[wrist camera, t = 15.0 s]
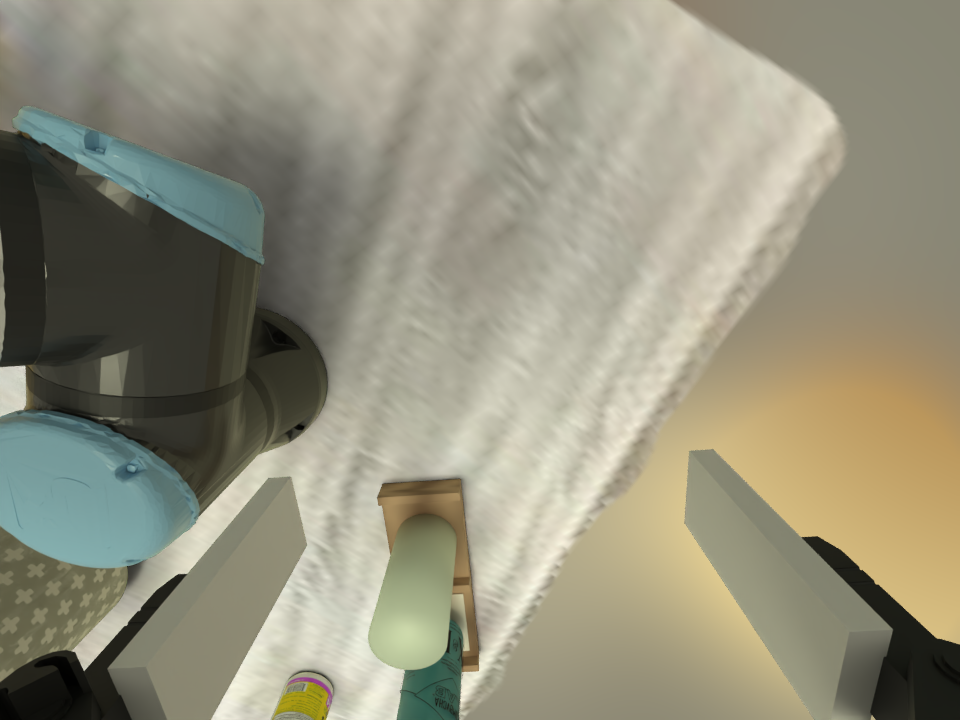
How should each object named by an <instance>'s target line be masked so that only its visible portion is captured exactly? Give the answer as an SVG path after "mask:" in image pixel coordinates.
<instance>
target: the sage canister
mask: <svg viewBox="0 0 960 720" xmlns="http://www.w3.org/2000/svg"><path fill="white" fill-rule="evenodd" d="M456 545H457V536H456V533H455V530H454V528H453V527H452V526H451V524H450V523H449V522H448V521H446V520H445V519H443V518H441V517H439V516H437V515H433V514H418V515H414V516H412V517H410V518H408V519H406V520H405V521H404V522H403V523H402V524H401V525H400V527H399V529H398V531H397V535H396V538H395V542H394V545H393V549H392V552H391V556H390V559H389V563H388V566H387V570H386V573H385V577H384V580H383V584H382V587H381V591H380V594H379V598H378V602H377V605H376V609H375V612H374V616H373V619H372V623H371V626H370V630H369V634H368V641H369V645H370V648H371V650H372V651H373V653H374V654H375V655H376V657H377V658H379V659H380V660H381V661H382V662H384V663H386V664H387V665H390V666H392V667H395V668H398V669H404V670H417V669H422V668H426V667H428V666H431V665H432V664H434V663H436V662H437V661H438V660H439V659H440V658H441V657H442V656H443V655H444V653H445V651H446V648H447V643H448V633H449V622H450V611H451V600H452V589H453V578H454V567H455V556H456Z"/></svg>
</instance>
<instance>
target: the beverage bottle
mask: <svg viewBox="0 0 960 720" xmlns="http://www.w3.org/2000/svg"><path fill="white" fill-rule="evenodd" d="M464 645H465V644H463V634H462V631H461V628H460V627H459V626H458V624H457V623H455V622H454V621H453V620H451V619H450V622H449V633H448V643H447V648H446V651H445V653H444V655H443V656H442V657H441V658H440V659H439V660H438V661H437V662H436V663H434V664H432V665H431V666H428V667H426V668H422V669H417V670H404V671H405V675H404V679H403V685H402V690H400V691H401V692H400V693H401V698H400V704H399V709H398V715H397V720H459V711H460V708H459V705H461V703H460V699H461V698H460V696H461V695H460V692H461V691H460V689H461V686H462V685H461V672H462V669H463V665H462V656H463V655H464V654H463V652H464V651H463V649H464V648H463V647H464ZM463 660H464V659H463ZM463 663H464V661H463ZM462 676H463V675H462ZM401 684H402V683H401ZM400 689H401V688H400ZM460 714H461V713H460Z"/></svg>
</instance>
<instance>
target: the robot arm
mask: <svg viewBox="0 0 960 720" xmlns="http://www.w3.org/2000/svg"><path fill="white" fill-rule="evenodd" d="M12 126H13V128H15V129H17V130H18V131H17V133H12V132H7V131H3V130H0V367H8V366H24V365H26V406H25V408H24V410H19V411H15V412H12V413H9V414H7V415H4V416H1V417H0V526H1V527H2V528H3V529H4V530H6V531H7V532H9V533H10V534H12V535H13V536H15V537H16V538H17V539H18V540H19V541H21V542H22V543H24V544H25V545H27V546H28V547H30V548H32V549H34V550H36V551H38V552H40V553H42V554H44V555H46V556H49V557H51V558H54V559H57V560H60V561H63V562H66V563H70V564H74V565H79V566H84V567H91V568H119V567H125V566H130V565H134V564H137V563H140V562H141V561H143V560H147V559H148V558H151V557H153V556H155V555H156V554H158V553H159V552H161V551H162V550H163V549H165V548H166V547H167V546H168V545H169V544H171V543H172V542H173V541H174V540H176V539H177V538H178V537H179V536H180V535H182V534H183V533H184V532H186V531H188V530H189V529H190V528H191V527H192V526H193V525H194V524H195V523H196V520H198V517H199V516H200V515H201V514H202V513H203V512H204V511H205V510H206V509H207V507H208V506H209V505H210V504H211V503H212V502H213V501H214V500H215V499H216V498H217V497H218V496H219V495H220V494H221V493H222V492H223V491H224V490H225V489H226V488H227V487H228V486H229V485H230V484H231V483H232V481H233V480H234V479H235V478H236V477H237V476H238V475H239V474H240V473H241V472H242V471H243V470H244V469H245V468H246V467H247V466H248V465H249V464H250V463H251V462H252V461H253V460H254V459H255V457H256V456H257V455H258V454H261V453H264V452H267V451H269V450H272V449H275V448H278V447H280V446H283V445H285V444H287V443H289V442H291V441H293V440H294V439H296V438H297V437H299V436H300V435H301V434H302V433H303V432H304V431H305V430H306V429H307V428H308V427H309V426H310V425H311V424H312V423H313V421H314V420H315V419H316V418H317V416H318V415H319V413H320V411H321V409H322V407H323V405H324V402H325V398H326V393H327V375H326V370H325V366H324V363H323V360H322V358H321V355H320V353H319V351H318V350H317V348H316V346H315V345H314V343H313V342H312V341H311V339H310V338H309V337H308V336H307V335H306V334H305V333H304V332H303V331H302V330H301V329H300V328H299V327H298V326H297V325H295V324H294V323H293V322H291V321H290V320H288V319H286V318H285V317H283V316H281V315H279V314H276V313H274V312H271V311H268V310H265V309H261V308H256V300H257V292H258V285H259V277H260V270H261V265H264V262H265V259H264V257H263V255H262V245H263V231H264V219H265V214H264V208H263V205H262V203H261V201H260V199H259V198H258V197H257V195H256V194H255V193H254V192H253V191H252V190H251V189H249V188H248V187H246V186H245V185H243V184H241V183H238V182H236V181H233V180H230V179H228V178H225V177H222V176H220V175H217V174H214V173H212V172H209V171H206V170H204V169H201V168H198V167H196V166H193V165H190V164H187V163H185V162H182V161H179V160H177V159H174V158H171V157H169V156H166V155H163V154H160V153H158V152H155V151H152V150H150V149H147V148H144V147H142V146H139V145H136V144H134V143H131V142H128V141H126V140H123V139H120V138H118V137H115V136H112V135H109V134H107V133H104V132H101V131H99V130H96V129H93V128H91V127H88V126H85V125H82V124H80V123H77V122H74V121H72V120H69V119H66V118H63V117H61V116H58V115H55V114H53V113H50V112H47V111H45V110H42V109H39V108H37V107H34V106H24V107H22V108H21V109H20V110H19V113H18V115H17V116H16V117H14V118H13V119H12ZM685 524H686V526H687V527H688V529H689V530H690V532H691V533H692V535H693V536H694V538H695V540H696V541H697V543H698V544H699V546H700V547H701V549H702V550H703V552H704V553H705V555H706V556H707V558H708V559H709V561H710V562H711V564H712V565H713V567H714V568H715V570H716V571H717V573H718V574H719V576H720V577H721V579H722V580H723V582H724V583H725V585H726V587H727V588H728V590H729V591H730V593H731V594H732V595H733V597H734V599H735V600H736V602H737V603H738V605H739V606H740V608H741V609H742V610H743V612H744V614H745V615H746V617H747V618H748V620H749V621H750V623H751V625H752V626H753V627H754V629H755V631H756V632H757V634H758V635H759V636H760V638H761V640H762V641H763V643H764V644H765V646H766V647H767V649H768V650H769V652H770V653H771V655H772V656H773V658H774V659H775V661H776V662H777V664H778V665H779V667H780V669H781V670H782V672H783V673H784V675H785V676H786V678H787V679H788V681H789V682H790V684H791V685H792V686H793V688H794V690H795V691H796V693H797V694H798V696H799V697H800V699H801V700H802V702H803V703H804V705H805V706H806V708H807V709H808V711H809V713H810V714H811V716H812V717H813V719H814V720H870V719H871V715H873V717H874V718H875V719H876V720H960V645H959V644H956V643H952V642H949V641H945V640H942V639H937V638H935V637H934V636H933V635H932V634H931V633H930V632H929V631H928V630H927V629H926V628H924V627H923V626H922V625H921V624H920V623H919V622H918V621H917V620H916V619H915V618H914V617H913V616H912V615H911V614H909V613H908V612H907V611H906V610H905V609H904V608H903V607H902V606H901V605H900V604H899V603H897V602H896V601H895V600H894V599H893V598H892V597H891V596H890V595H889V594H888V593H887V592H886V591H885V590H883V589H882V588H881V587H880V586H879V585H876V584H875V583H874V580H873V579H872V578H871V577H870V576H868V575H867V574H866V573H865V572H864V571H863V570H860V569H859V566H858V565H856V564H855V563H854V562H853V561H852V560H851V559H850V558H849V557H848V556H847V555H846V554H845V553H843V552H842V551H841V550H840V549H838V548H836V547H835V546H833V545H831V544H829V543H828V542H826V541H824V540H823V539H821V538H819V537H818V536H816V537H800V536H799V535H798V534H797V533H796V532H795V531H794V530H793V529H792V528H791V527H790V526H789V525H788V524H787V523H786V522H785V521H784V520H783V519H782V518H781V517H780V516H779V515H778V514H777V513H776V512H775V511H774V510H773V509H772V508H771V507H770V506H769V505H768V504H767V503H766V502H765V501H764V500H763V499H762V498H761V497H760V496H759V495H758V494H757V493H756V492H755V491H754V490H753V489H752V488H751V487H750V486H749V485H748V484H747V483H746V482H745V481H744V480H743V479H742V478H741V477H740V476H739V475H738V474H737V473H736V472H735V471H734V470H733V469H732V468H731V467H730V466H729V465H728V464H727V463H726V462H725V461H724V460H723V459H722V458H721V457H720V456H719V455H718V454H717V453H716V452H715V451H714V450H713V449H711V450H695V451H689V462H688V478H687V494H686V508H685ZM306 546H307V543H306V538H305V534H304V530H303V526H302V521H301V517H300V513H299V509H298V504H297V500H296V496H295V492H294V488H293V483H292V479H291V477H280V478H268V479H267V481H266V482H265V483H264V484H263V485H262V487H261V488H260V489H259V490H258V491H257V492H256V494H255V495H254V496H253V497H252V498H251V500H250V501H249V502H248V503H247V504H246V505H245V507H244V508H243V509H242V510H241V511H240V513H239V514H238V515H237V516H236V517H235V518H234V520H233V521H232V522H231V523H230V524H229V526H228V527H227V528H226V529H225V530H224V531H223V533H222V534H221V535H220V536H219V537H218V539H217V540H216V541H215V542H214V543H213V544H212V546H211V547H210V548H209V549H208V550H207V552H206V553H205V554H204V555H203V556H202V557H201V559H200V560H199V561H198V562H197V563H196V565H195V566H194V567H193V568H192V569H191V570H190V572H189V573H188V574H178V575H176V576H175V577H174V578H172V579H171V580H170V581H168V582H167V583H166V584H164V585H163V586H162V587H160V588H159V589H158V590H156V591H155V593H154V594H153V595H152V596H151V597H150V598H149V599H148V600H147V602H146V603H145V604H144V605H143V606H142V607H141V610H140V611H138V612H137V613H136V614H135V615H134V616H133V617H132V618H131V619H130V621H129V622H128V625H127V626H124V627H123V628H122V630H121V631H120V632H119V633H118V634H117V635H116V636H115V637H114V639H113V640H112V641H111V642H110V643H109V644H108V645H107V646H106V648H105V649H104V650H103V651H102V652H101V653H100V654H99V655H98V656H97V658H96V659H95V660H94V661H93V662H92V663H91V664H90V665H89V667H88V668H87V669H86V670H85V671H83V668H82V666H81V664H80V662H79V660H78V658H77V655H76V653H75V652H72V651H69V650H62V651H55V652H51V653H48V654H46V655H43V656H41V657H38V658H36V659H34V660H32V661H30V662H28V663H27V664H25V665H23V666H21V667H20V668H18V669H17V670H15V671H14V672H13V673H11V674H10V675H9V676H7V677H6V678H5V679H3V680H2V681H1V682H0V720H211V718H212V717H213V715H214V713H215V711H216V709H217V707H218V706H219V704H220V702H221V700H222V698H223V697H224V695H225V693H226V691H227V689H228V688H229V686H230V684H231V682H232V680H233V679H234V677H235V675H236V673H237V671H238V669H239V668H240V666H241V664H242V662H243V660H244V659H245V657H246V655H247V653H248V651H249V650H250V648H251V646H252V644H253V642H254V640H255V639H256V637H257V635H258V633H259V631H260V630H261V628H262V626H263V624H264V622H265V621H266V619H267V617H268V615H269V613H270V611H271V610H272V608H273V606H274V604H275V602H276V601H277V599H278V597H279V595H280V593H281V592H282V590H283V588H284V586H285V584H286V582H287V581H288V579H289V577H290V575H291V573H292V572H293V570H294V568H295V566H296V564H297V563H298V561H299V559H300V557H301V555H302V554H303V552H304V550H305V548H306Z"/></svg>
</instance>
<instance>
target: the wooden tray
mask: <svg viewBox="0 0 960 720" xmlns="http://www.w3.org/2000/svg"><path fill="white" fill-rule="evenodd" d="M377 499H378V505H379V506H381V505H382V508H383V514H384V519H385V525H386V531H387V537H388V543H389V549H390V555H391V552H392V549H393V545H394V542H395V538H396V535H397V531H398V529H399V527H400V525H401V524H402V523H403V522H404V521H405V520H406V519H408V518H410V517H412V516H414V515H418V514H433V515H437V516H439V517H441V518H443V519H445V520H446V521H448V522H449V523H450V524H451V526H452V527H453V528H454V530H455V533H456V536H457V545H456V556H455V567H454V578H453V589H452V600H451V611H450V619H451V620H453V621H454V622H455V623H457V624H458V626H459V627H460V628H461V631H462V634H463V644H465V645H464V647H463V648H464V649H463V651H464V652H463V654H464V655H463V656H462V665H463V669H462V672H472V671H479V646H478V637H477V627H476V618H475V609H474V599H473V590H472V581H471V571H470V562H469V553H468V544H467V534H466V525H465V516H464V506H463V497H462V488H461V479H451V480H436V481H420V482H404V483H389V484H382V487H381V489H380V492H379V495H378V497H377ZM463 659H464V660H463ZM463 661H464V663H463Z"/></svg>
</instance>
